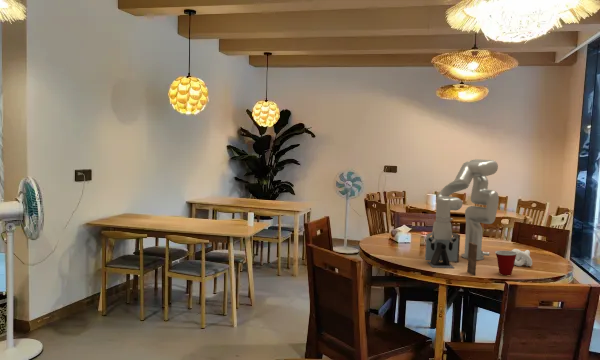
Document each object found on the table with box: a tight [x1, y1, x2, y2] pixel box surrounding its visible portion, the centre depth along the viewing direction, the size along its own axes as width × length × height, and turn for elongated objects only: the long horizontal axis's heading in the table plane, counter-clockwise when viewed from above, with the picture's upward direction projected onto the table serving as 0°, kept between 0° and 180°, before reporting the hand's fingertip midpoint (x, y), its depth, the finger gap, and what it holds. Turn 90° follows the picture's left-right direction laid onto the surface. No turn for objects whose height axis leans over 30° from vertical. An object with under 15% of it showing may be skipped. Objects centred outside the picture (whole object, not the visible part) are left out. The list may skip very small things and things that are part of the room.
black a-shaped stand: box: [429, 242, 451, 266], centre depth 247 cm, size 9×6×12 cm, turn 96°
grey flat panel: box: [424, 236, 458, 262], centre depth 254 cm, size 2×18×14 cm, turn 88°
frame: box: [452, 232, 477, 276], centre depth 245 cm, size 2×35×16 cm, turn 178°
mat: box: [426, 261, 455, 269], centre depth 247 cm, size 12×12×1 cm
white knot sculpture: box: [511, 248, 533, 267], centre depth 254 cm, size 11×12×9 cm
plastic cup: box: [494, 250, 517, 276], centre depth 232 cm, size 11×11×12 cm
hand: (441, 250), depth 247 cm, fingers open, 9 cm apart
